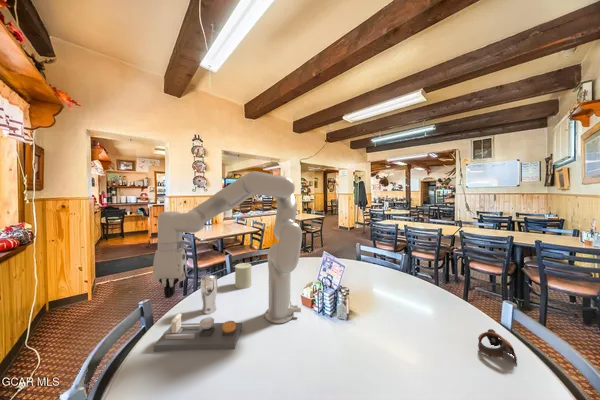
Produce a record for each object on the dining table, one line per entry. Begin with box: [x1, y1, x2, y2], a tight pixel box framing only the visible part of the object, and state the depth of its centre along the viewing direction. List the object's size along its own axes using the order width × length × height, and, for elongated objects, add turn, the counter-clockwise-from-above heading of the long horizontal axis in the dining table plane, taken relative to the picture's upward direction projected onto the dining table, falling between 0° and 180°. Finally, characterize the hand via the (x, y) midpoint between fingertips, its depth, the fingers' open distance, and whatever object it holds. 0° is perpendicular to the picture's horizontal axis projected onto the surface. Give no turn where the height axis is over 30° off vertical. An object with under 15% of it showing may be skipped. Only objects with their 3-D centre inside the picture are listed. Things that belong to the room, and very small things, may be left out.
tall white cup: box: [200, 274, 218, 315], centre depth 100 cm, size 7×7×15 cm
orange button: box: [222, 320, 237, 333], centre depth 82 cm, size 5×5×3 cm
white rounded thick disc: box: [199, 316, 215, 330], centre depth 82 cm, size 5×5×3 cm
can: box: [234, 262, 253, 290], centre depth 127 cm, size 9×9×12 cm
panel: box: [153, 322, 243, 352], centre depth 82 cm, size 27×12×3 cm, turn 93°
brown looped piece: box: [477, 328, 518, 362], centre depth 75 cm, size 12×10×8 cm
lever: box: [170, 312, 183, 334], centre depth 81 cm, size 3×5×6 cm, turn 3°
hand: (169, 296), depth 80 cm, fingers closed
